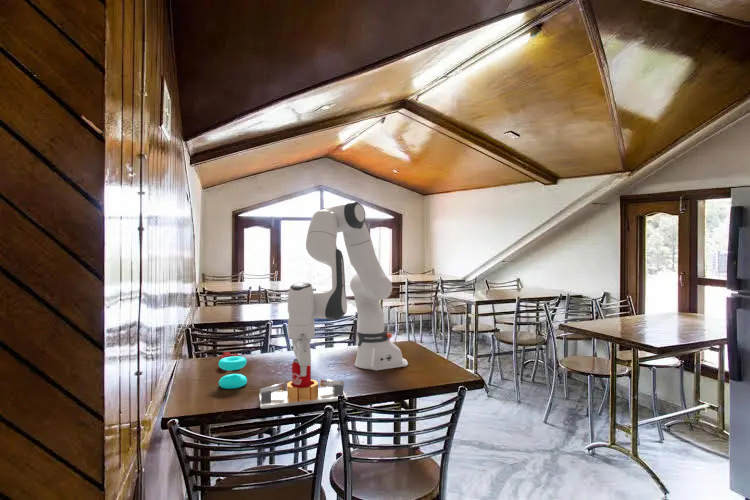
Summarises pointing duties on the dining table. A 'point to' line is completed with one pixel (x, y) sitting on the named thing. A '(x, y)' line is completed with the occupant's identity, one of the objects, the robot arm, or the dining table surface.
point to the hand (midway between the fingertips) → (302, 372)
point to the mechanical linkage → (227, 354)
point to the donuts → (232, 379)
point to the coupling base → (301, 394)
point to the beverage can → (297, 378)
